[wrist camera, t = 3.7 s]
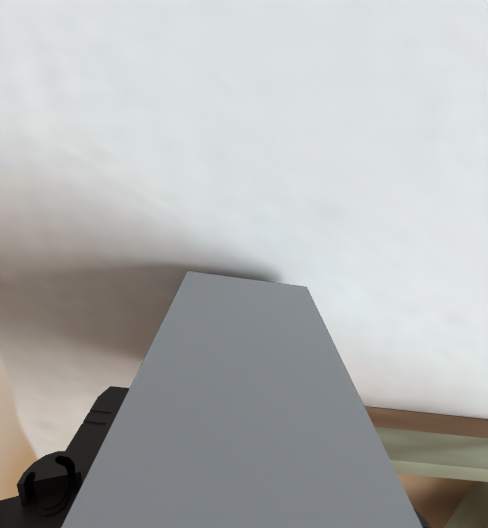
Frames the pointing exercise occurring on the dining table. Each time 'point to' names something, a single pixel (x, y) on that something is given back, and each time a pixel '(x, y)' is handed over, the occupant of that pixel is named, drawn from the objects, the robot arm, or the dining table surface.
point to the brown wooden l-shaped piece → (438, 464)
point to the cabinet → (242, 424)
